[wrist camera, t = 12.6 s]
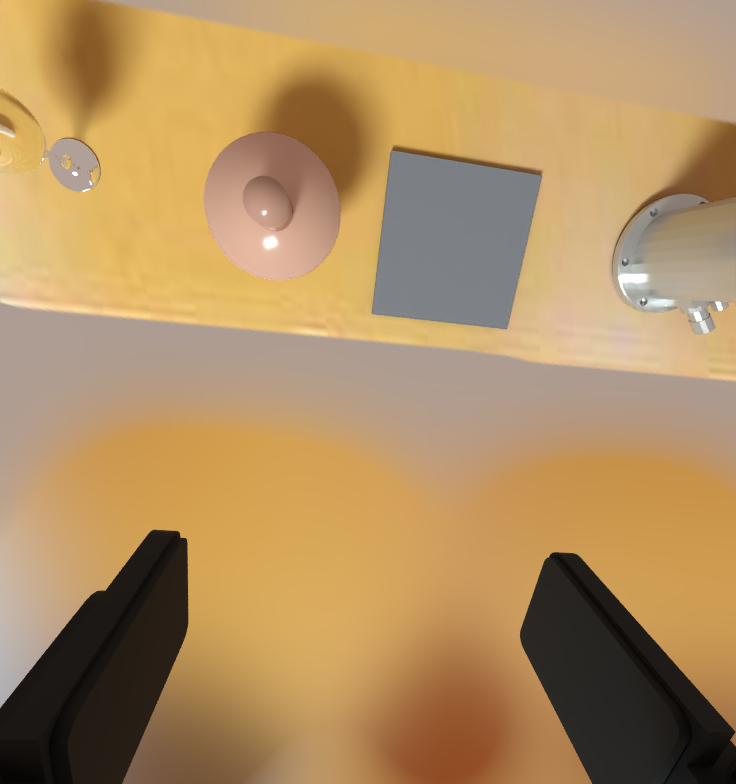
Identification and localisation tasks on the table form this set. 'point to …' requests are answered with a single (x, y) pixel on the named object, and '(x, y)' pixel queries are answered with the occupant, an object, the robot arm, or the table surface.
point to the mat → (452, 240)
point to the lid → (272, 206)
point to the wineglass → (41, 148)
